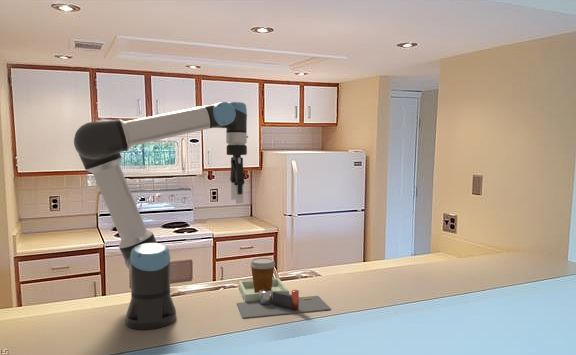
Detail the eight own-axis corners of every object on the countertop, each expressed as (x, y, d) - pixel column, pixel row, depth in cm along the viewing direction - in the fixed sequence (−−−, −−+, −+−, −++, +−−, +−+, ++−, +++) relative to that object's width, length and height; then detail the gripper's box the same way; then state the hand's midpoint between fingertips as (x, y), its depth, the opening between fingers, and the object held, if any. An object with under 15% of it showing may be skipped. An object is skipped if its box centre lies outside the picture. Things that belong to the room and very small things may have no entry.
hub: (260, 307, 144) (260, 294, 144) (257, 302, 149) (257, 289, 149) (313, 302, 149) (313, 289, 149) (309, 297, 154) (309, 285, 153)
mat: (242, 318, 134) (242, 317, 134) (236, 304, 147) (236, 302, 147) (331, 309, 142) (331, 308, 142) (318, 296, 155) (318, 295, 155)
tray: (245, 303, 148) (245, 294, 148) (238, 288, 164) (238, 281, 163) (289, 299, 152) (289, 290, 152) (278, 285, 168) (278, 278, 167)
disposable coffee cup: (252, 297, 152) (252, 264, 152) (248, 288, 162) (248, 258, 161) (277, 295, 155) (277, 262, 154) (272, 287, 164) (272, 256, 163)
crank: (271, 304, 144) (271, 287, 144) (275, 302, 146) (275, 285, 146) (296, 310, 139) (296, 292, 139) (300, 308, 141) (300, 290, 141)
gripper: (252, 143, 145) (252, 204, 147) (241, 145, 169) (242, 197, 171) (230, 143, 143) (231, 205, 145) (223, 145, 168) (223, 198, 169)
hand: (237, 201), depth 158 cm, fingers open, 13 cm apart
